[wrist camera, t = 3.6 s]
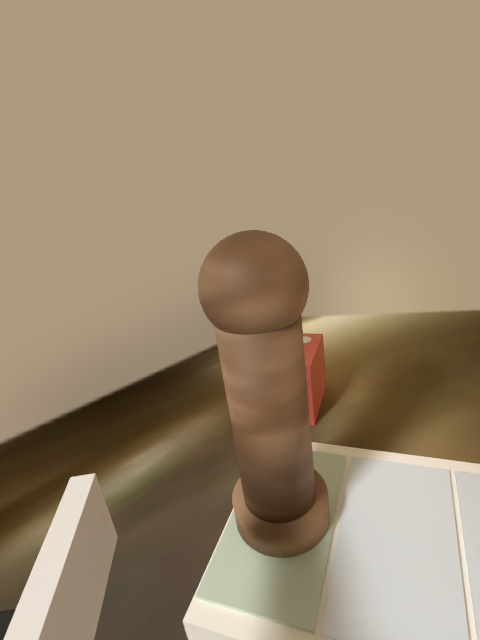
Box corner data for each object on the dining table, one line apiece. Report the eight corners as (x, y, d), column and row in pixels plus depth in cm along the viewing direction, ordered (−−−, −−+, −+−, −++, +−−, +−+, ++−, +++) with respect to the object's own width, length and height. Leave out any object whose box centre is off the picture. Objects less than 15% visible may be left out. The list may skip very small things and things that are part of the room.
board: (189, 643, 18) (181, 617, 17) (268, 453, 28) (265, 433, 27) (1005, 927, 10) (1051, 901, 9) (702, 517, 20) (713, 491, 19)
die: (250, 418, 32) (241, 361, 30) (268, 383, 36) (262, 331, 34) (314, 425, 30) (309, 365, 28) (326, 388, 34) (322, 333, 32)
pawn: (222, 544, 20) (159, 251, 14) (253, 473, 24) (213, 222, 19) (320, 568, 18) (293, 244, 13) (336, 487, 22) (320, 214, 17)
